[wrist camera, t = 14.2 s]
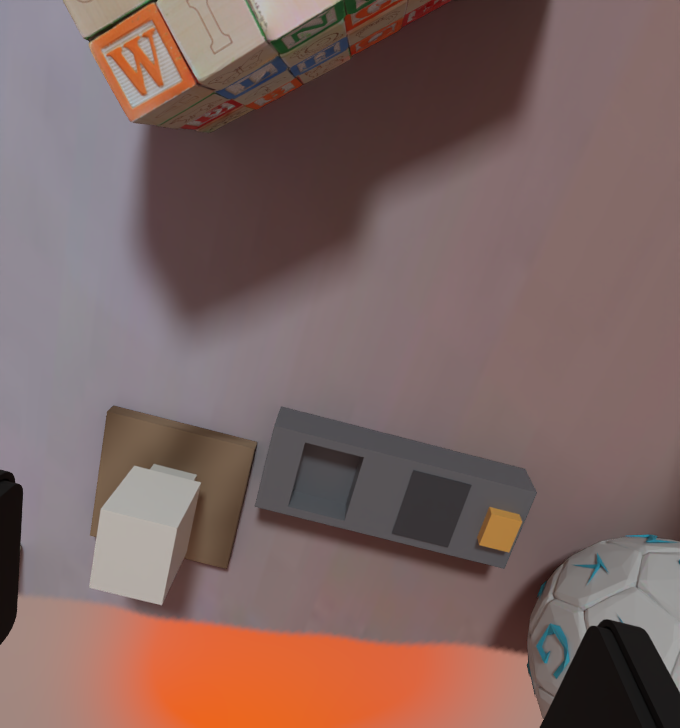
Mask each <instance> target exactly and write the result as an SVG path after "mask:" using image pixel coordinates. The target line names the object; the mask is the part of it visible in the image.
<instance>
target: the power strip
mask: <svg viewBox="0 0 680 728" xmlns="http://www.w3.org/2000/svg"><path fill="white" fill-rule="evenodd" d="M536 493H537V492H536V490H535V488H534V486H533V484H532V482H531V480H530V478H529V476H528V474H527V472H526V470H525V469H523V468H519V467H515V466H511V465H507V464H503V463H499V462H495V461H491V460H488V459H484V458H480V457H476V456H472V455H468V454H464V453H460V452H456V451H452V450H448V449H445V448H441V447H437V446H433V445H429V444H425V443H421V442H417V441H413V440H409V439H406V438H402V437H398V436H394V435H390V434H386V433H382V432H378V431H374V430H370V429H367V428H363V427H359V426H355V425H351V424H347V423H343V422H339V421H335V420H331V419H327V418H324V417H320V416H316V415H312V414H308V413H304V412H300V411H296V410H292V409H288V408H285V407H281V409H280V411H279V414H278V417H277V420H276V423H275V425H274V429H273V433H272V438H271V442H270V446H269V450H268V454H267V458H266V462H265V466H264V470H263V474H262V479H261V483H260V487H259V491H258V495H257V499H256V503H255V507H258V508H262V509H266V510H270V511H274V512H278V513H282V514H286V515H290V516H294V517H298V518H302V519H306V520H310V521H314V522H318V523H322V524H327V525H331V526H335V527H339V528H343V529H347V530H351V531H355V532H359V533H363V534H367V535H371V536H375V537H379V538H383V539H387V540H391V541H395V542H399V543H403V544H407V545H411V546H415V547H419V548H423V549H427V550H431V551H435V552H439V553H443V554H447V555H451V556H455V557H459V558H463V559H467V560H471V561H475V562H479V563H483V564H487V565H491V566H495V567H499V568H503V569H504V568H505V566H506V564H507V561H508V559H509V557H510V554H511V552H512V550H513V547H514V545H515V543H516V540H517V538H518V536H519V533H520V531H521V529H522V526H523V524H524V522H525V519H526V517H527V515H528V512H529V510H530V507H531V505H532V503H533V500H534V498H535V496H536Z"/></svg>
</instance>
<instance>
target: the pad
mask: <svg viewBox="0 0 680 728" xmlns="http://www.w3.org/2000/svg"><path fill="white" fill-rule="evenodd" d="M256 446H257V442H255V441H251V440H247V439H243V438H239V437H235V436H231V435H227V434H223V433H220V432H216V431H212V430H208V429H204V428H200V427H196V426H192V425H188V424H184V423H180V422H176V421H172V420H168V419H164V418H160V417H156V416H152V415H149V414H145V413H141V412H137V411H133V410H129V409H125V408H121V407H117V406H112V407H111V408H110V409H109V410H108V411H107V416H106V424H105V431H104V438H103V445H102V453H101V460H100V467H99V474H98V482H97V489H96V496H95V504H94V511H93V518H92V525H91V533H90V536H94V537H97V531H98V524H99V517H100V510H101V508H102V507H103V505H104V504H105V503H106V501H107V500H108V499H109V498H110V496H111V495H112V494H113V492H114V491H115V490H116V489H117V487H118V486H119V485H120V483H121V482H122V481H123V479H124V478H125V477H126V476H127V474H128V473H129V472H130V470H131V469H132V468H133V467H134V466H138V467H142V468H146V469H151V467H152V466H153V464H156V465H160V466H164V467H168V468H172V469H176V470H180V471H184V472H188V473H192V474H196V475H197V477H196V481H197V482H201V486H200V491H199V495H198V500H197V505H196V510H195V514H194V519H193V524H192V529H191V534H190V538H189V543H188V548H187V553H186V555H185V557H184V559H188V560H192V561H196V562H201V563H205V564H209V565H213V566H217V567H221V568H225V569H227V566H228V563H229V560H230V556H231V552H232V548H233V543H234V539H235V535H236V531H237V526H238V522H239V518H240V514H241V510H242V505H243V501H244V497H245V493H246V488H247V484H248V480H249V476H250V471H251V467H252V463H253V459H254V454H255V450H256Z"/></svg>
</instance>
